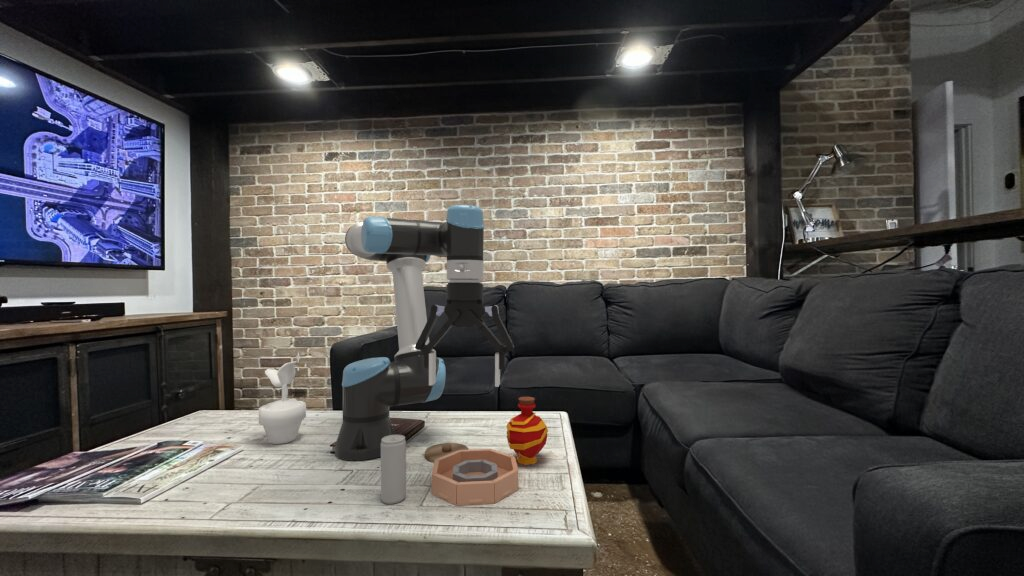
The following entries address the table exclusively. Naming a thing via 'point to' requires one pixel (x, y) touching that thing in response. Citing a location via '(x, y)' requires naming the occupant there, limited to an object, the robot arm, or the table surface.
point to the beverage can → (393, 469)
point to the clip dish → (476, 486)
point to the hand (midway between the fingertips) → (464, 384)
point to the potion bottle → (526, 432)
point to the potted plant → (282, 407)
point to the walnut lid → (442, 450)
